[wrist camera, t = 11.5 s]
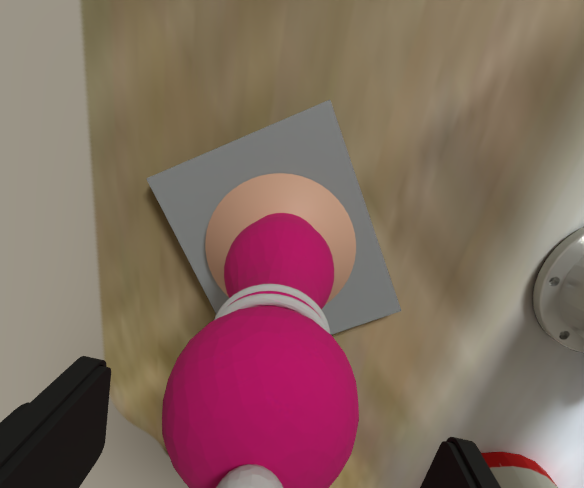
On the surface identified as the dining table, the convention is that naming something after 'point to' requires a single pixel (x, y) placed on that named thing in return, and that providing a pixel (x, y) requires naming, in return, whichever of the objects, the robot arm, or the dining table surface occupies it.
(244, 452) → the pepper mill
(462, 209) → the dining table surface
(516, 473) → the kitchen timer
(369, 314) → the slate board
